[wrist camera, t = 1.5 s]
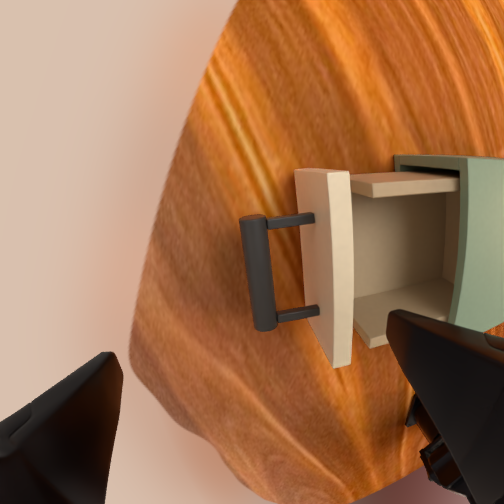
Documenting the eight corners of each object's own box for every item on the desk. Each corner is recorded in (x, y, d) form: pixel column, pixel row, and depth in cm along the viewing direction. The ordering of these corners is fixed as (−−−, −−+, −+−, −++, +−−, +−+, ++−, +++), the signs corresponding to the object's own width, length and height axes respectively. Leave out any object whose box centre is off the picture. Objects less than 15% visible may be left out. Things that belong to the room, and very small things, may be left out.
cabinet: (393, 298, 25) (449, 348, 17) (393, 154, 21) (467, 157, 13) (492, 270, 26) (544, 298, 17) (497, 157, 22) (559, 165, 14)
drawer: (252, 326, 23) (263, 383, 17) (231, 176, 20) (235, 182, 13) (439, 285, 24) (485, 317, 18) (443, 162, 21) (500, 167, 14)
